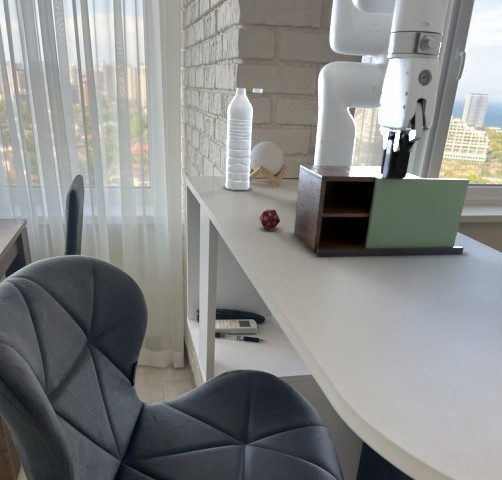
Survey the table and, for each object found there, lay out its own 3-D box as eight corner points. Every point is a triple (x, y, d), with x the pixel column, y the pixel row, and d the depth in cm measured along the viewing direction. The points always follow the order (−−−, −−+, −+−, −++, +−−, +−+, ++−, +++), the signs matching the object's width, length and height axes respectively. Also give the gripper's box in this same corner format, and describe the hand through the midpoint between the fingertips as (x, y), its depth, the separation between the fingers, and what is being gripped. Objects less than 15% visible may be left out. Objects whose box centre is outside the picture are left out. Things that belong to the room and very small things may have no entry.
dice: (261, 225, 103) (262, 206, 102) (282, 228, 102) (284, 208, 100) (255, 229, 100) (256, 209, 98) (276, 233, 99) (278, 212, 97)
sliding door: (364, 250, 90) (381, 138, 81) (450, 249, 93) (475, 142, 85) (368, 253, 88) (386, 139, 80) (455, 252, 92) (481, 143, 84)
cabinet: (293, 234, 98) (300, 165, 93) (423, 233, 104) (436, 168, 99) (317, 256, 86) (326, 178, 80) (462, 254, 92) (480, 180, 86)
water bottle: (224, 189, 136) (227, 86, 125) (226, 185, 142) (229, 86, 131) (256, 191, 136) (262, 88, 125) (257, 187, 142) (262, 88, 131)
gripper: (467, 47, 69) (438, 184, 77) (410, 53, 83) (391, 169, 91) (417, 43, 68) (393, 184, 76) (368, 50, 82) (353, 168, 90)
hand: (392, 175), depth 84 cm, fingers closed on sliding door
